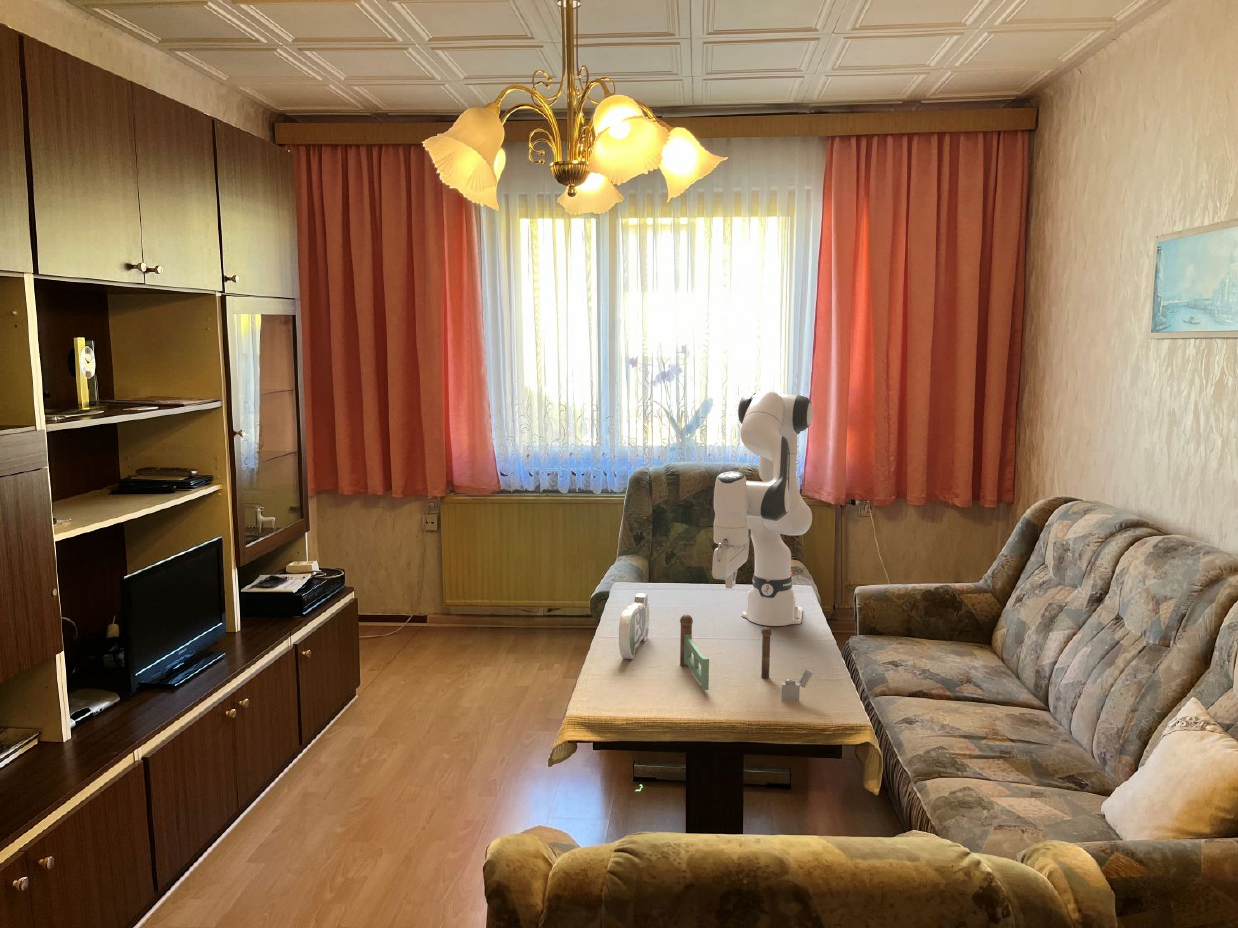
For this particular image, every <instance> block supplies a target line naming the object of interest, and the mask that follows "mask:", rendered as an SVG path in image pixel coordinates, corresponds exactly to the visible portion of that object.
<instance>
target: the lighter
mask: <svg viewBox="0 0 1238 928" xmlns="http://www.w3.org/2000/svg"><path fill="white" fill-rule="evenodd" d="M812 676H813V672H812V670H810V669H808V668H806V669H805V671H804V673H803V674H802V677H801V678H800V680H799V681H798V682H796V680H795V679H786V680H785V681H784V682H781V698H780V699H781V702H782V703H800V689H801V688H800V687H802V688H806V686H807V685H808V683H809V680H810V679H811V677H812Z"/></svg>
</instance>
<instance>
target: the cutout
mask: <svg viewBox="0 0 1238 928" xmlns="http://www.w3.org/2000/svg"><path fill="white" fill-rule="evenodd" d="M648 598H649V594H648V593H641V592H640V593H639V592H637V593H636V594H635V596H634V602H633V603H630V604H629V605H628V606H627V607H626V608H624V609H623V611H622V612H621V615H620V620H619V625H618V646H619V647H618V648H619V653H620V656H621V659H624V660H625V659H626V660H634V659H635V655H636V649H637V648H638V647H639V646H640V644H641V642H642V643H646V642H647V640H648V639H649V632H650V631H649V630H650V603H649V599H648ZM647 638H648V639H647ZM633 658H634V659H633Z"/></svg>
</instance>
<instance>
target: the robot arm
mask: <svg viewBox="0 0 1238 928" xmlns="http://www.w3.org/2000/svg"><path fill="white" fill-rule="evenodd" d="M737 416H738V421H739V423H741V427H740V439H741V441H742V444H743V445H744V447H745V448H746V449H747V450H748V451H749V452H750V453H752V454H754V455H756V456H759V464H758V465H759V466H758V467H759V468H758V474H759V475H758V476H759V478H760V479H761V481H757V480H756V481H755V480H747V477H746V475H745V474H744V473H742V472H740V471H725V472H722V473H720V474H718V475H717V476H716V479H715V482H714V484H715V485H714V490H713V510H714V519H713V542H714V543H715V544H717V545H718V546H717V547H716V548H714V551H713V554H712V566H711V567H712V569H711V575H712V578H713V580H714V579H716V580H723V581H725V588H726V589H728V590H729V589H732V588H733V587H735V586H736V579H737V575H738V569H739V568H740V567H742V566H743V565H744V564H745V563H746V562H748V557H749V553H750V552H749V551H750V539H751V541H752V545H753V551H754V573H753V575H752V588H750V589H749V590H748V592H747V599H746V610H743V611H742V612H741V617H742V618H743V617H744V618H746V619H747V620H748V621H750V622H752V623H754V624H758V625H760V626H766V627H767V626H768V627H769V626H770V627H782V626H783V627H784V626H788V625H800V624H802V620H803V607H802V606H798V605H796V604H797V603H796V602H797V594H796V592H795V590H794V589H793V572H792V570H791V569H792V552H791V550H790V548H789V547H788V546H787V545H786V544H785V542H784V540H783V539H782V537H781V535H785V536H803V535H804V534H806V533H807V532H808V531H809V530H810V528H811V526H812V522H813V514H812V510H811V508H810V507H809V505H808V504H807V503H806V502H805V500H804V499H803V497H802V495H801V493H800V490H799V486H798V482H797V459H798V458H797V456H798V453H797V452H798V435H800V434H801V432H804V431H806V430H807V429H808V428H809V427H810V425H811V423H812V421H813V418H814V408H813V403H812V401H811V400H810V399H809V397H808V396H804V395H800V394H797V395H794V394H789V393H781V392H780V393H779V392H776V391H772V390H762V391H760V392H758V393H756V392H753V393H747V394H745V395H743V397H741V399H740V400H739V404H738V407H737Z"/></svg>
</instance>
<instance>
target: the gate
mask: <svg viewBox="0 0 1238 928" xmlns="http://www.w3.org/2000/svg"><path fill="white" fill-rule="evenodd" d="M692 655H693V657H692ZM684 664H685V665H688V666H687V667H688V669H689V670H690V671H691V673H692V674H693V675H694V677H695V679H696V680H697V681H698V683H699V684H700V689H701V691H708V690H709V684H710V683H709V682H710V680H709V677H710V676H709V675H710V658H709V656H705V654H704V653H703V652H702V651H701V649H700V647H698V645H697V644H696V643H695V641H694V640H693V635H692V636H691V634H685V641H684ZM699 665H700V667H699Z"/></svg>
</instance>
